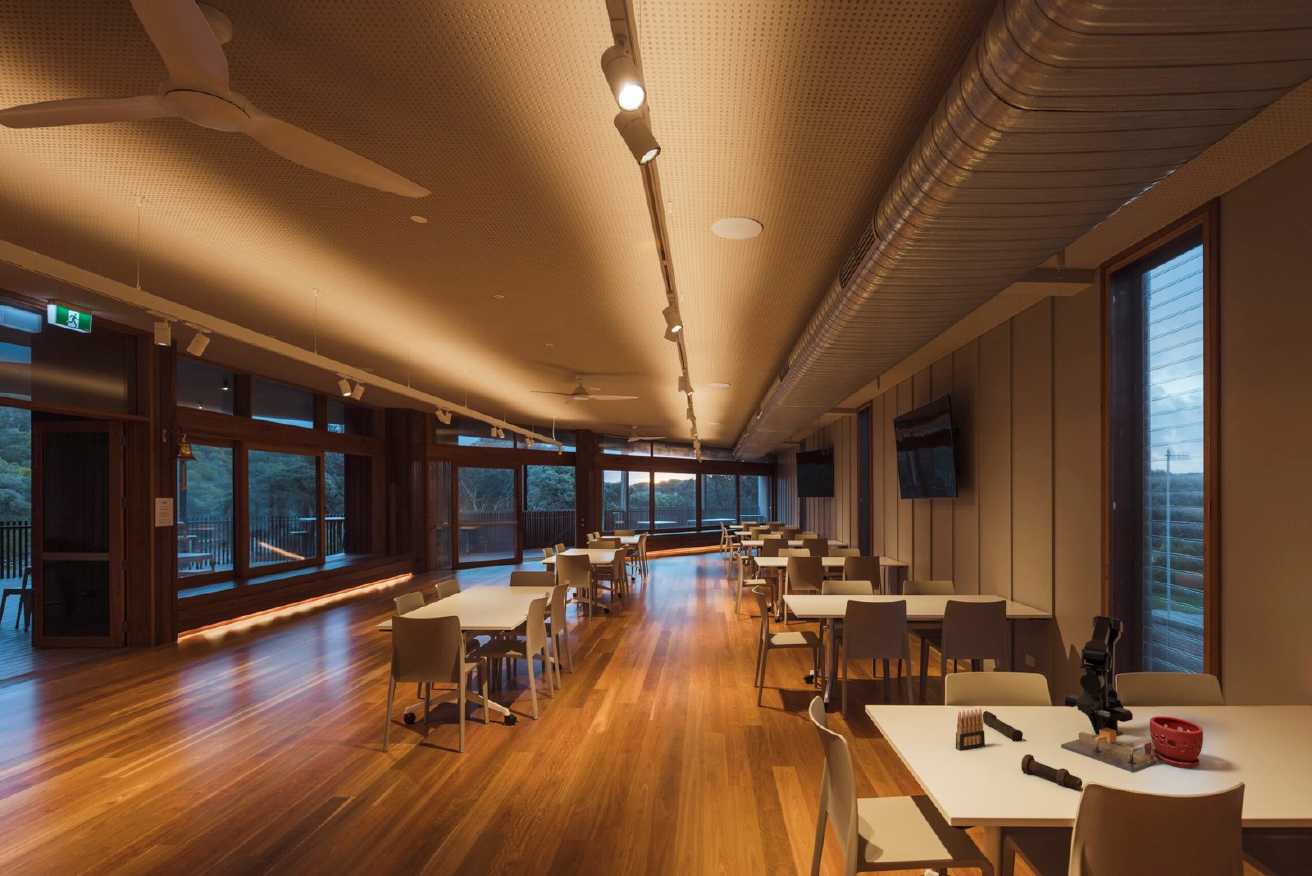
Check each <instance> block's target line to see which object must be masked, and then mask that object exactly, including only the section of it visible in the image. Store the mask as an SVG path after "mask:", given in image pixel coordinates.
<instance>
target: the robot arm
mask: <svg viewBox="0 0 1312 876" xmlns="http://www.w3.org/2000/svg"><path fill="white" fill-rule="evenodd" d="M1092 628H1093V632H1092V636H1091V639H1090V640H1089V641H1087V642H1085V644H1084V646H1083V648H1082V649H1081V652H1080V653H1081V655H1080V665H1079V668H1080V669H1083V670H1084V669H1085V670H1084V671H1085V672H1084V674H1083V675H1082V676H1081V678H1080V680H1079V682H1080V687H1082V689H1083V693H1082V695H1080V696H1079V695H1077V694H1070V695H1067V696H1065V697H1064V698H1063V705H1064V706H1067V707H1071V708H1074V707H1075V706H1076V707H1077V710H1078V711H1080V712H1081V713H1082V714H1085V715H1086V716H1087V718H1088V720H1089V721H1090V723H1091V726H1092V729H1093V732H1094V734H1095V736H1100V730H1099V729H1103V728H1110V729H1113V730H1116V737H1117V736H1120V735H1122V734H1123V731H1119V728H1118V727H1119V723H1118V722H1123V723H1125V722H1130V721H1133V720H1134V719H1133V718H1134V715H1133V712H1132V711H1131V710H1129V709H1126V708H1124V704H1123V703H1122V700H1121V699H1120V694H1119V693H1118V691H1117V689H1116V688H1115V662H1116V660H1115V659H1116V658H1115V657H1116V656H1115V655H1116V654H1115V653H1116V644H1117V642H1118V641H1119V640H1120V639H1121V637H1122V634H1121V633H1123V632H1124V624H1123V622H1122V621H1121V620H1120V619H1119V618H1118V617H1117V618H1115V617H1112V616H1106V615H1099V614H1098V615H1095V616H1093V617H1092Z"/></svg>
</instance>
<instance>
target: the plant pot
mask: <svg viewBox="0 0 1312 876" xmlns="http://www.w3.org/2000/svg"><path fill="white" fill-rule="evenodd" d="M1166 726H1167V727H1166ZM1179 728H1181V729H1182V730H1179ZM1149 733H1150V737H1151V741H1152V742H1151V743H1152V745H1153V746H1154V748H1153V750H1152V754H1154V758H1157V759H1156V760H1159V761H1160V762H1162V763H1165V764H1167V765H1170V766H1174V767H1177V768H1186V769H1193V768H1196V767H1198V766H1199V765H1200V763H1201V761H1200V759H1199V756H1200V755H1201V752H1202V751H1203V745H1204V730H1203V728H1202V727H1201V726H1200V725H1199V724H1197V723H1194V722H1191V721H1189V720H1186V719H1181V718H1177V717H1173V716H1165V715H1164V716H1161V715H1158V716H1152V717H1150V719H1149Z"/></svg>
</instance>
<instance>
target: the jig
mask: <svg viewBox="0 0 1312 876" xmlns="http://www.w3.org/2000/svg"><path fill="white" fill-rule="evenodd" d="M1095 737H1099V735H1094V734H1092V733H1087V732H1086V731H1085V732H1084V731H1081V732H1078V739H1075V740H1072V741H1068V742H1064V743H1062V744H1061V743H1060V744H1061V745H1060V749H1063V750H1066V751H1070V752H1073V753H1076V754H1079V755H1081V756H1083V757H1087V758H1089V757H1090V759H1092V760H1095V761H1098V762H1101V761H1102V762H1101V763H1104V764H1108V765H1110V766H1113V767H1116V768H1119V769H1122V770H1125V771H1127V772H1131V773H1135V772H1138V771H1140V770H1144V769H1146V768H1149V767H1151V766H1154V765H1156V764H1157V759H1155V756H1154V754H1153V750H1152V742H1151V741H1149V740H1145V739H1142V738H1139V739H1136V740H1133V747H1132V746H1129V745H1125V744H1122V743H1120V742H1117V741H1114V742H1111V743H1109V742H1106V741H1102V740H1101V741H1098V745H1099V750H1096V745H1095Z"/></svg>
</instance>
